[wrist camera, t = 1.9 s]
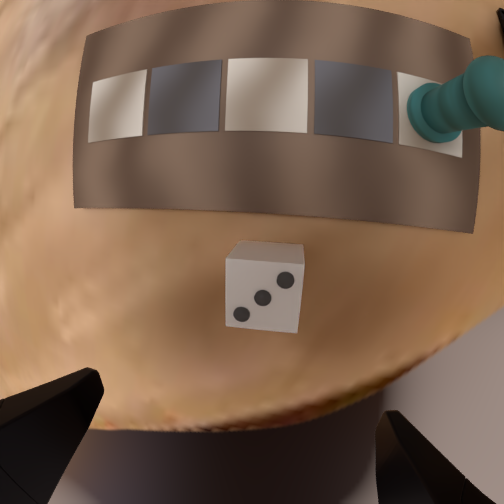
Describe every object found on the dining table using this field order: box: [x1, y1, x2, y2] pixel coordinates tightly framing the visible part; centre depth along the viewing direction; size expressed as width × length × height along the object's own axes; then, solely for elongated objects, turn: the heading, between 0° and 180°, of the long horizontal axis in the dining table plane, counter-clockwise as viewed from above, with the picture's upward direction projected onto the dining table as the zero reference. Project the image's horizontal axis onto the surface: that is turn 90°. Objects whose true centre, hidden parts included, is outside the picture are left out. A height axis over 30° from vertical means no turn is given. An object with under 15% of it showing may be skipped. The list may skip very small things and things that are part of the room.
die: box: [225, 240, 305, 333], centre depth 17 cm, size 4×4×4 cm
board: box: [73, 0, 480, 234], centre depth 15 cm, size 28×14×1 cm, turn 88°
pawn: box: [407, 55, 504, 143], centre depth 9 cm, size 4×4×8 cm
